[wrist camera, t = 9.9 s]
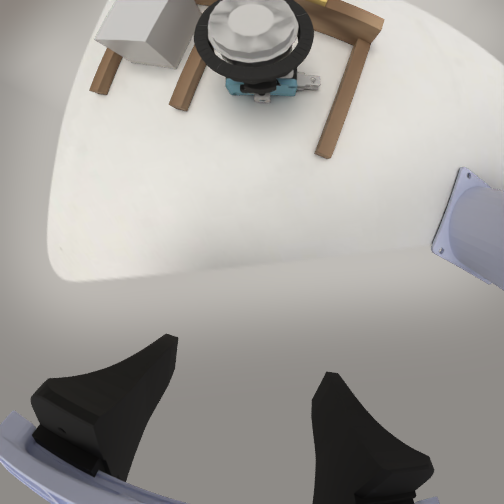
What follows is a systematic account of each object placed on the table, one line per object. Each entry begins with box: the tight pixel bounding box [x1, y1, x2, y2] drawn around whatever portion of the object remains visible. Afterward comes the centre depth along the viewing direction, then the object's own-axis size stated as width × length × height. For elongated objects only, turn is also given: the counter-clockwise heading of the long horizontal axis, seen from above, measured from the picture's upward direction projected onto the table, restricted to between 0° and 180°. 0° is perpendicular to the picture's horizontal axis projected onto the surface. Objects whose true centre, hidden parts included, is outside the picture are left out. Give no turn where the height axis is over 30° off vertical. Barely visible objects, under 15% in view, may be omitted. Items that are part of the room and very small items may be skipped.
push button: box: [194, 0, 320, 103], centre depth 13 cm, size 7×5×10 cm
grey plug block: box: [94, 0, 202, 69], centre depth 14 cm, size 4×6×6 cm
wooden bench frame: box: [89, 0, 384, 159], centre depth 15 cm, size 20×11×5 cm, turn 70°
